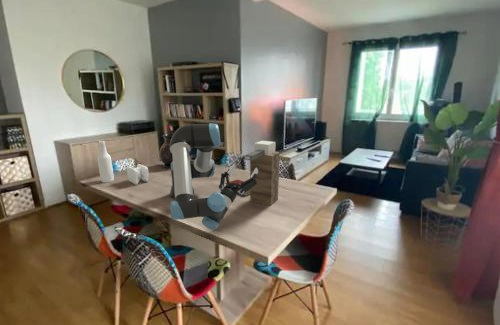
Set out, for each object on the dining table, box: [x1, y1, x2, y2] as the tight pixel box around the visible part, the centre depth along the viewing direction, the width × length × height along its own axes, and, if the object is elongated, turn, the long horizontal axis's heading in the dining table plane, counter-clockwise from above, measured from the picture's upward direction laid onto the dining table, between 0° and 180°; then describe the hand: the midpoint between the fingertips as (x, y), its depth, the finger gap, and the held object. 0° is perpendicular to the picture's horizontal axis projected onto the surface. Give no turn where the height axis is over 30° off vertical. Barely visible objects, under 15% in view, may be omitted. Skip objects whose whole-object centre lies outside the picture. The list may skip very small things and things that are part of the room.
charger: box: [244, 140, 276, 161], centre depth 147 cm, size 25×9×6 cm, turn 150°
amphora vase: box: [158, 133, 174, 169], centre depth 230 cm, size 22×22×28 cm
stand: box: [249, 151, 280, 206], centre depth 158 cm, size 10×14×30 cm
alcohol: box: [96, 140, 115, 184], centre depth 192 cm, size 9×9×30 cm
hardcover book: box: [224, 178, 250, 196], centre depth 179 cm, size 12×21×4 cm, turn 45°
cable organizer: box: [126, 163, 150, 186], centre depth 194 cm, size 15×11×12 cm
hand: (245, 167), depth 136 cm, fingers open, 13 cm apart
